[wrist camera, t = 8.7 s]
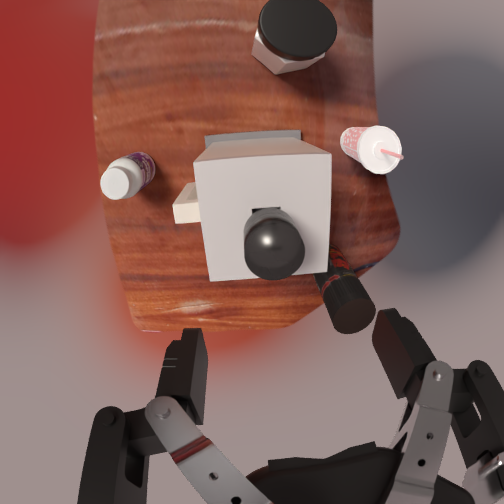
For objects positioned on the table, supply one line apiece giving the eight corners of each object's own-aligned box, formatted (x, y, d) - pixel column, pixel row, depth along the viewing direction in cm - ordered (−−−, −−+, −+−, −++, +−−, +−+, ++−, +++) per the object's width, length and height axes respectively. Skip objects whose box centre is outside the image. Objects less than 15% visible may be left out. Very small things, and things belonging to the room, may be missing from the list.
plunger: (219, 158, 30) (202, 197, 17) (294, 153, 30) (339, 188, 17) (226, 227, 34) (218, 309, 20) (295, 222, 34) (332, 299, 21)
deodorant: (301, 262, 47) (323, 321, 34) (327, 237, 45) (359, 290, 32) (323, 281, 49) (349, 340, 36) (348, 258, 47) (383, 312, 34)
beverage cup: (374, 159, 40) (424, 181, 27) (338, 164, 40) (379, 188, 27) (369, 120, 37) (421, 128, 24) (332, 124, 37) (374, 130, 25)
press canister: (189, 137, 37) (152, 155, 21) (298, 129, 37) (342, 142, 21) (200, 221, 43) (178, 292, 27) (300, 214, 43) (335, 279, 27)
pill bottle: (162, 175, 40) (142, 193, 31) (134, 191, 40) (109, 213, 32) (145, 144, 37) (120, 154, 29) (117, 162, 38) (88, 176, 30)
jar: (303, 82, 34) (328, 71, 24) (246, 68, 33) (249, 49, 22) (317, 30, 30) (345, 4, 20) (261, 15, 29) (269, -18, 18)
